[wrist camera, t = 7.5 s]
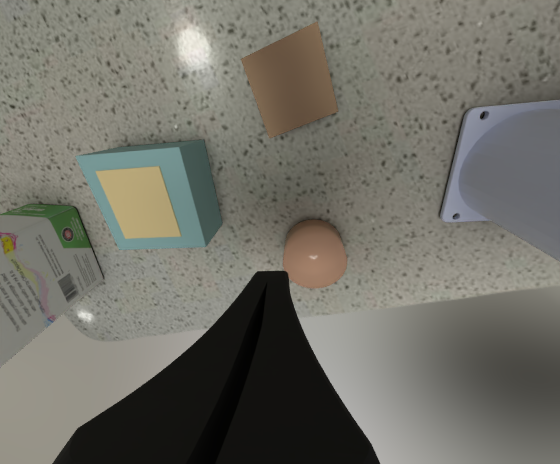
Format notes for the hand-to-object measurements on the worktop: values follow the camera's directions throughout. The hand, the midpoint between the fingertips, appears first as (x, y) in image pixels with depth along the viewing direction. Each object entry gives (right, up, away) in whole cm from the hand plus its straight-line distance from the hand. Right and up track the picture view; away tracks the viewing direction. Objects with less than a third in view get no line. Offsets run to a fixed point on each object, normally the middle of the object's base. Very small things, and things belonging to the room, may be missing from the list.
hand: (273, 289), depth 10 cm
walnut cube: (+1, +12, +5) cm, 13 cm away
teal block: (-5, +5, +7) cm, 10 cm away
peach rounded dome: (+3, +1, +11) cm, 11 cm away
